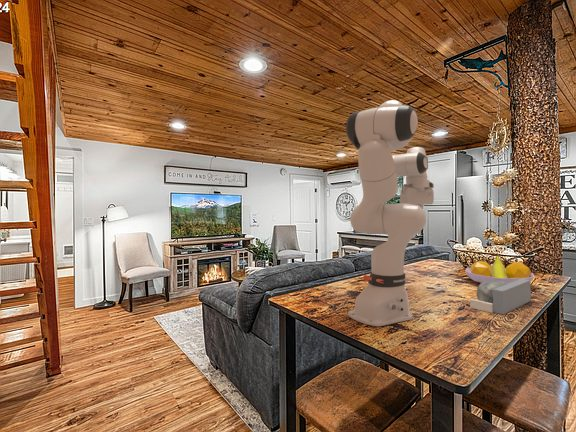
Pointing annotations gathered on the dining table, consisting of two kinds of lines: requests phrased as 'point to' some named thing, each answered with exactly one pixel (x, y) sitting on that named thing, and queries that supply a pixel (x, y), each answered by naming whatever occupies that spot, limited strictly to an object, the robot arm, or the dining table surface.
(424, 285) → the dining table surface
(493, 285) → the grey stone
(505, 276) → the fruit bowl
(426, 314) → the dining table surface
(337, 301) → the dining table surface
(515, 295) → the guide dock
